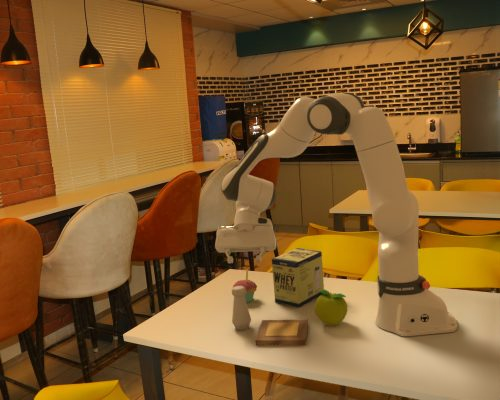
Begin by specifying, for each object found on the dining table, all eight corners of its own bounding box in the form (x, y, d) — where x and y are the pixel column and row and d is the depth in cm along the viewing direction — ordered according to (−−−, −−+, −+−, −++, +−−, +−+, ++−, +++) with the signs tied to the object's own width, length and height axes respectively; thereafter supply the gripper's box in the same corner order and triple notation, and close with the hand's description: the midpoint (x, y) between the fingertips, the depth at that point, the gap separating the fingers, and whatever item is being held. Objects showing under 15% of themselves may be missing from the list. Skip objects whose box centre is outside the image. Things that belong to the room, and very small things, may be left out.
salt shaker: (241, 322, 161) (237, 282, 159) (255, 325, 157) (251, 285, 155) (229, 329, 157) (225, 288, 154) (243, 333, 153) (239, 291, 151)
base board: (308, 324, 155) (307, 318, 155) (305, 345, 142) (305, 339, 141) (262, 324, 158) (262, 319, 158) (255, 345, 144) (255, 339, 144)
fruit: (328, 315, 161) (326, 284, 159) (353, 322, 154) (351, 290, 152) (309, 325, 154) (307, 293, 153) (335, 333, 148) (333, 300, 146)
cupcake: (262, 297, 181) (259, 264, 179) (249, 306, 174) (246, 272, 172) (242, 294, 186) (239, 262, 184) (228, 302, 179) (225, 269, 177)
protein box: (274, 302, 175) (270, 258, 172) (300, 288, 187) (297, 247, 184) (299, 308, 168) (295, 262, 166) (325, 293, 180) (322, 250, 177)
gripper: (214, 222, 173) (210, 258, 165) (275, 219, 169) (273, 256, 161) (219, 231, 178) (215, 267, 170) (277, 229, 174) (276, 265, 166)
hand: (244, 262), depth 166 cm, fingers open, 8 cm apart
